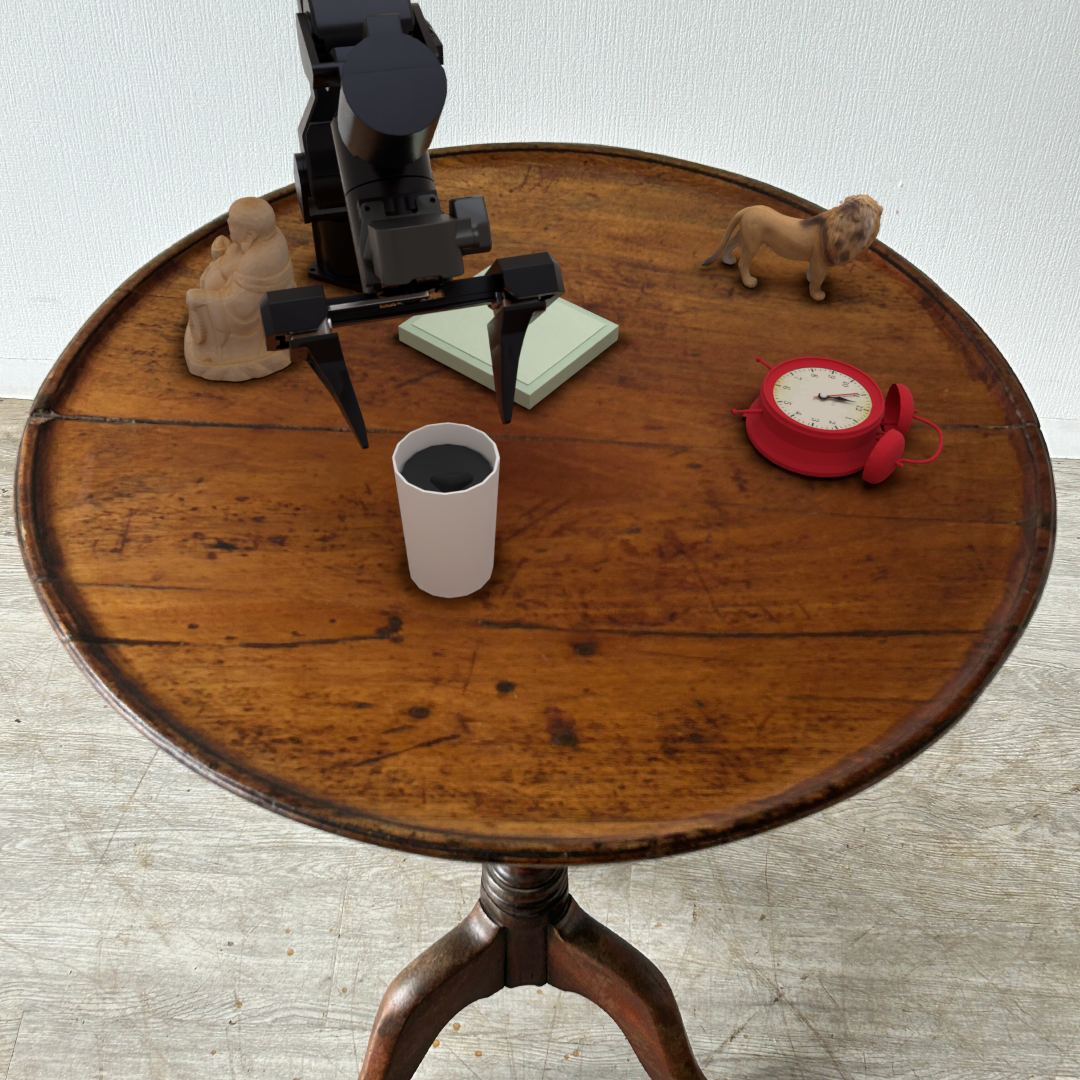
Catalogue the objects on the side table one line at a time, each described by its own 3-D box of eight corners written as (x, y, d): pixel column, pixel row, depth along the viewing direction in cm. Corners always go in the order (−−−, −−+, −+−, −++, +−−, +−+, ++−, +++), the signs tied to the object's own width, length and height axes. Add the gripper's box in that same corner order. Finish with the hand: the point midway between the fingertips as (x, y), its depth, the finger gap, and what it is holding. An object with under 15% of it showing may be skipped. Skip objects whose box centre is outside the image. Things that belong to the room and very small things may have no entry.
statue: (332, 264, 83) (192, 231, 80) (298, 408, 92) (171, 382, 89) (339, 182, 91) (212, 149, 88) (307, 321, 101) (191, 295, 98)
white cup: (520, 565, 77) (522, 457, 70) (449, 619, 74) (443, 511, 66) (453, 516, 80) (448, 408, 73) (382, 566, 77) (369, 457, 69)
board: (399, 340, 94) (397, 324, 93) (491, 279, 101) (491, 263, 100) (529, 410, 88) (529, 393, 87) (618, 339, 95) (619, 323, 94)
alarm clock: (757, 338, 90) (956, 350, 84) (761, 402, 94) (951, 418, 88) (721, 416, 83) (934, 435, 77) (727, 481, 87) (930, 504, 81)
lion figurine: (862, 275, 103) (887, 184, 96) (863, 308, 99) (888, 216, 93) (702, 255, 104) (715, 165, 98) (697, 287, 101) (710, 195, 94)
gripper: (233, 169, 61) (290, 452, 62) (561, 130, 65) (611, 396, 66) (241, 224, 72) (289, 465, 73) (522, 188, 76) (565, 416, 77)
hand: (437, 436), depth 72 cm, fingers open, 9 cm apart
